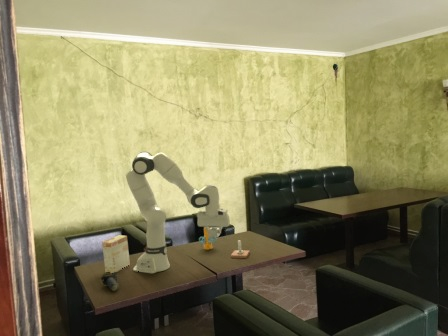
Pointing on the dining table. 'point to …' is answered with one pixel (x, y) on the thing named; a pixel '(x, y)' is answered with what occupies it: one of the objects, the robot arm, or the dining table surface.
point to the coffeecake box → (116, 253)
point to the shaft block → (240, 252)
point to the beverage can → (110, 281)
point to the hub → (213, 232)
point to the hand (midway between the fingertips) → (214, 233)
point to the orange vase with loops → (207, 240)
